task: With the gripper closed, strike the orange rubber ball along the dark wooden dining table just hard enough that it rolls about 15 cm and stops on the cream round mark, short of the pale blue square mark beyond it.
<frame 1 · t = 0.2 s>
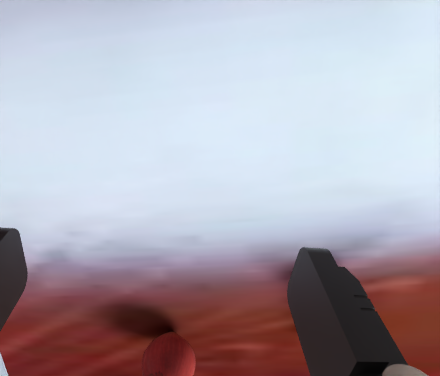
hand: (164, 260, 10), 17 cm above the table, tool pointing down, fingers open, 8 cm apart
onion: (171, 331, 39), on the table
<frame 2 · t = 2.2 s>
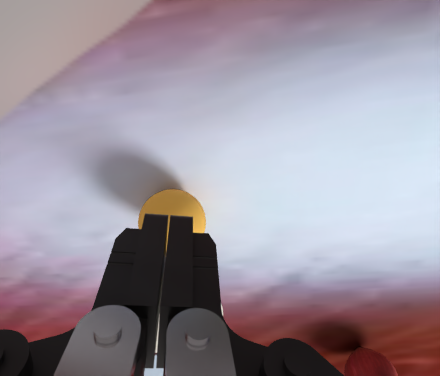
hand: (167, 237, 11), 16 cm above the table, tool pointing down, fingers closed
onion: (357, 347, 42), on the table
ball: (172, 222, 27), on the table
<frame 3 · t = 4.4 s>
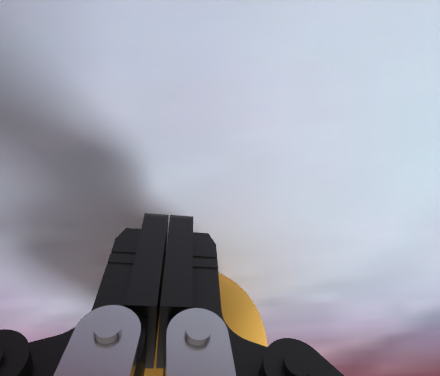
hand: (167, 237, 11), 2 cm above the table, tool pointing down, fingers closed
ball: (189, 346, 12), on the table
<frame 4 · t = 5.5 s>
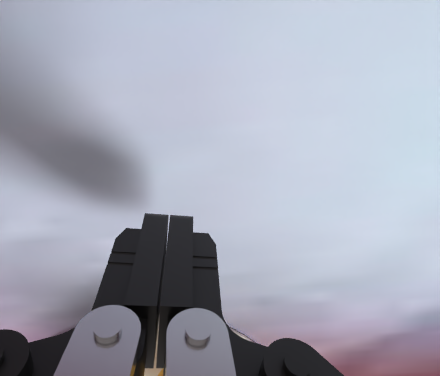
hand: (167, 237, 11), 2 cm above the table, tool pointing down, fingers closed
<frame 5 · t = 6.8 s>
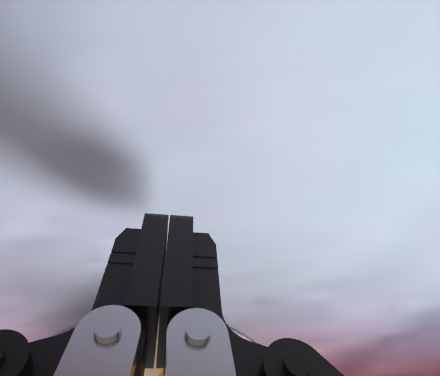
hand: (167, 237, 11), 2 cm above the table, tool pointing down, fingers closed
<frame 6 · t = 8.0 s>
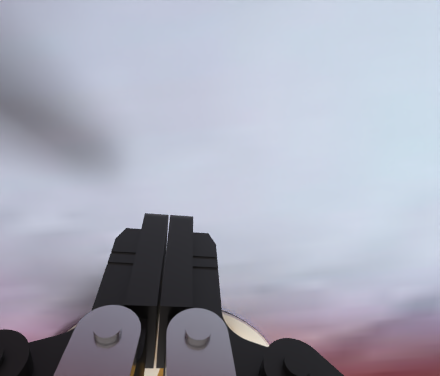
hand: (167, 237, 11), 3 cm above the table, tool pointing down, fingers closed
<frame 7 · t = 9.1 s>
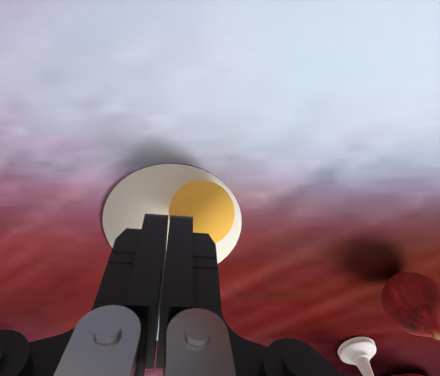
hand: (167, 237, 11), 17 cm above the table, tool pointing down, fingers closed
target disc: (173, 225, 31), on the table
chess piece: (355, 346, 43), on the table
onion: (393, 274, 37), on the table
ball: (201, 213, 27), on the table
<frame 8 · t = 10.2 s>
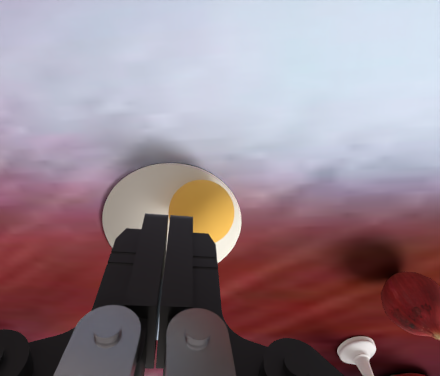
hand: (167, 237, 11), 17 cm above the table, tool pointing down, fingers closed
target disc: (173, 224, 31), on the table
chess piece: (354, 346, 43), on the table
onion: (393, 274, 37), on the table
ball: (201, 212, 27), on the table
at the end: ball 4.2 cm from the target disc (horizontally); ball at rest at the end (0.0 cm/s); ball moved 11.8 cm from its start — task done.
